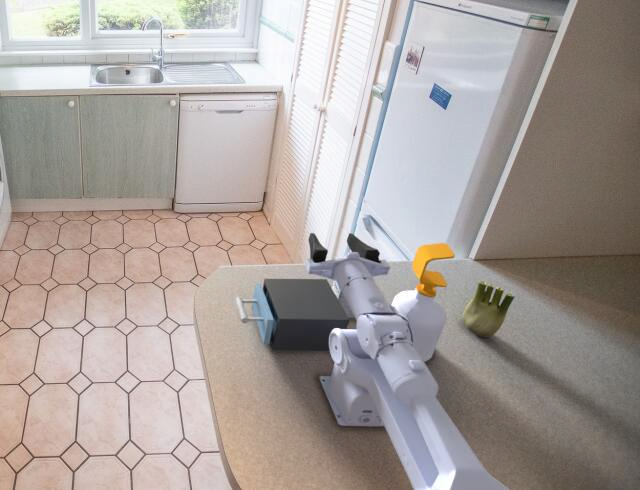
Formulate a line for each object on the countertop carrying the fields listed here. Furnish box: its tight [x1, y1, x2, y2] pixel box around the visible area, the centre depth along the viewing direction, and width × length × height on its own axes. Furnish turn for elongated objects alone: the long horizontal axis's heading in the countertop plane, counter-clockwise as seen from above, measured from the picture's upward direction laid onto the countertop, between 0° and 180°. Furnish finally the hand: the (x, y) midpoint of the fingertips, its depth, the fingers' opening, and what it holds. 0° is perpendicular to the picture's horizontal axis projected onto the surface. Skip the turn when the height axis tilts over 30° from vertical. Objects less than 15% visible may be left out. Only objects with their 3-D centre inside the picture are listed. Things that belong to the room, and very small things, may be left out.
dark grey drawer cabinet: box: [262, 278, 350, 352], centre depth 95 cm, size 14×12×9 cm
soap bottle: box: [391, 242, 455, 363], centre depth 88 cm, size 9×9×25 cm
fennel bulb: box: [461, 280, 516, 338], centre depth 94 cm, size 6×5×12 cm
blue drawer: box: [234, 283, 278, 346], centre depth 95 cm, size 17×10×7 cm, turn 89°
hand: (330, 237), depth 90 cm, fingers open, 7 cm apart
